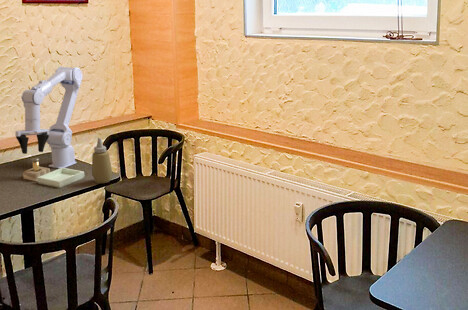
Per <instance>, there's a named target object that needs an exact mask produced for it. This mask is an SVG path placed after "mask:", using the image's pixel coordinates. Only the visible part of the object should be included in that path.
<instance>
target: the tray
mask: <svg viewBox="0 0 468 310" xmlns="http://www.w3.org/2000/svg"><path fill="white" fill-rule="evenodd" d="M84 178H86V177H85V171H84V170H77V169H71V168H68V167H66V168H60V169H59V168H56V169H55V170H53V171H50V173H47V174H44V175H42V176H39V177H37V181H36V182H37V184H39V185H44V186H49V187H54V188H60V189H61V188H63V187H65V186H68V185H70V184H73V183H75V182H78V181H79V180H81V179H84Z"/></svg>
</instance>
